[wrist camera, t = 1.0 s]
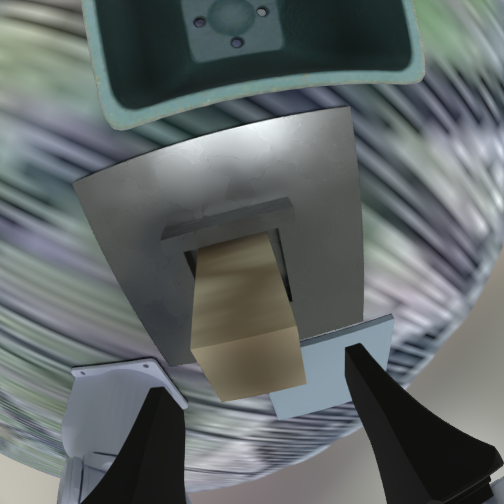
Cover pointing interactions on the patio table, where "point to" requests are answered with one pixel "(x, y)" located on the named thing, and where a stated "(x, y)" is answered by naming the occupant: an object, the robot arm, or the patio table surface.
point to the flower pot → (241, 50)
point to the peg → (244, 320)
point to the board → (332, 367)
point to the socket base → (236, 219)
